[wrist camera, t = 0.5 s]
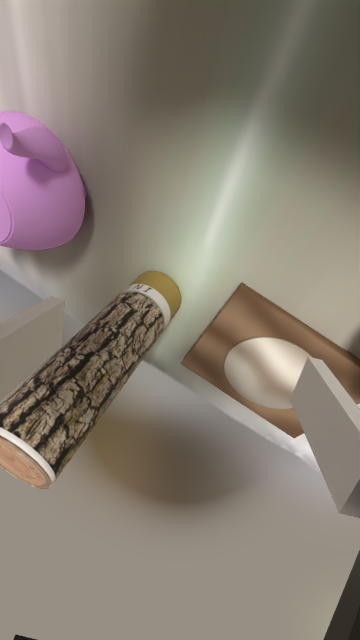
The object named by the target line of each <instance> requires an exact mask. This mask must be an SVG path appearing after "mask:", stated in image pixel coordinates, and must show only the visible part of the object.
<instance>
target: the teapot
mask: <svg viewBox="0 0 360 640" xmlns="http://www.w3.org/2000/svg"><path fill="white" fill-rule="evenodd" d="M86 196H87V189H86V186H85V184H84V183H83V182H82V180H81V177H80V174H79V171H78V169H77V166H76V164H75V163H74V161H73V159H72V157H71V155H70V154H69V152H68V151H67V149H66V148H65V147H64V145H63V144H62V143H61V141H60V140H59V139H58V138H57V137H56V136H55V135H54V134H53V133H52V132H51V131H50V130H49V129H48V128H47V127H46V126H45V125H43V124H42V123H40V122H39V121H38V120H36V119H34V118H32V117H30V116H28V115H26V114H23V113H20V112H15V111H3V112H0V246H5V247H10V248H15V249H21V250H45V249H50V248H54V247H58V246H60V245H63V244H65V243H67V242H68V241H70V240H71V239H72V238H73V237H74V236H75V235H76V234H77V232H78V231H79V229H80V227H81V225H82V222H83V218H84V213H85V198H86Z"/></svg>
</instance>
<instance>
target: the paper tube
mask: <svg viewBox="0 0 360 640" xmlns="http://www.w3.org/2000/svg"><path fill="white" fill-rule="evenodd" d="M180 304H181V294H180V291H179V288H178V286H177V285H176V283H175V282H174V281H173V280H172V279H171V278H170V277H169V276H167V275H165V274H163V273H161V272H156V271H148V272H145V273H143V274H141V275H140V276H139V277H138V278H137V279H136V280H135V281H133V282H132V283H131V284H130V285H129V286H128V287H127V288H126V289H125V290H123V291H122V292H121V293H120V294H119V295H118V296H117V297H116V298H115V299H114V300H113V301H112V302H110V303H109V304H108V305H107V306H106V307H105V308H104V309H103V310H102V311H101V312H100V313H99V314H98V315H96V316H95V317H94V318H93V319H92V320H91V321H90V322H89V323H88V324H87V325H86V326H85V327H84V328H82V329H81V330H80V331H79V332H78V333H77V334H76V335H75V336H74V337H73V338H72V339H71V340H70V341H68V342H67V343H66V344H65V345H64V346H63V347H62V348H61V349H60V350H59V351H58V352H57V353H56V354H55V355H53V356H52V357H51V358H50V359H49V360H48V361H47V362H46V363H45V364H44V365H43V366H42V367H40V368H39V369H38V370H37V371H36V372H35V373H34V374H33V375H32V376H31V377H30V378H29V379H28V380H27V381H25V382H24V383H23V384H22V385H21V386H20V387H19V388H18V389H17V390H16V391H15V392H14V393H12V394H11V395H10V396H9V397H8V398H7V399H6V400H5V401H4V402H3V403H2V404H1V405H0V467H2V468H3V469H4V470H6V471H7V472H9V473H10V474H12V475H13V476H15V477H17V478H18V479H20V480H21V481H23V482H25V483H27V484H29V485H32V486H34V487H37V488H40V489H49V488H50V486H51V484H52V483H53V482H55V480H56V479H57V477H58V476H59V475H60V473H61V472H62V471H63V469H64V468H65V466H66V465H67V463H68V462H69V461H70V459H71V458H72V456H73V455H74V454H75V453H76V451H77V450H78V448H79V447H80V446H81V444H82V443H83V441H84V440H85V438H86V437H87V436H88V434H89V433H90V432H91V430H92V429H93V427H94V426H95V425H96V423H97V422H98V420H99V419H100V418H101V416H102V415H103V413H104V412H105V411H106V409H107V408H108V407H109V405H110V404H111V402H112V401H113V399H114V398H115V397H116V395H117V394H118V393H119V391H120V390H121V388H122V387H123V386H124V384H125V383H126V382H127V380H128V379H129V377H130V376H131V375H132V373H133V372H134V370H135V369H136V368H137V366H138V365H139V363H140V362H141V361H142V359H143V358H144V356H145V355H146V354H147V352H148V351H149V350H150V348H151V347H152V345H153V344H154V343H155V341H156V340H157V338H158V337H159V336H160V334H161V333H162V331H163V330H164V329H165V327H166V326H167V324H168V323H169V321H170V320H171V319H172V317H173V316H174V314H175V313H176V312H177V310H178V309H179V307H180Z"/></svg>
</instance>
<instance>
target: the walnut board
mask: <svg viewBox="0 0 360 640" xmlns="http://www.w3.org/2000/svg"><path fill="white" fill-rule="evenodd" d="M308 357H312V358H316V359H320V360H323V362H324V363H325V364H326V366H327V367H328V368H329V369H330V371H331V372H332V373H333V375H334V376H335V377H336V379H337V380H338V381H339V382H340V384H341V385H342V386H343V388H344V389H345V390H346V392H347V393H348V394H349V396H350V397H351V398H352V399H353V401H354V402H355V403H356V405H357V404H359V403H360V360H359V359H358V358H356V357H355V356H353V355H352V354H350V353H349V352H347V351H346V350H344V349H343V348H341V347H340V346H338V345H336V344H335V343H333V342H332V341H330V340H329V339H327V338H326V337H324V336H323V335H321V334H320V333H318V332H317V331H315V330H314V329H312V328H311V327H309V326H307V325H306V324H304V323H303V322H301V321H300V320H298V319H297V318H295V317H294V316H292V315H291V314H289V313H288V312H286V311H285V310H283V309H282V308H280V307H279V306H277V305H275V304H274V303H272V302H271V301H269V300H268V299H266V298H265V297H263V296H262V295H260V294H259V293H257V292H256V291H254V290H253V289H251V288H250V287H248V286H246V285H245V284H243V283H241V284H240V286H239V287H238V288H237V289H236V291H235V292H234V293H233V295H232V296H231V297H230V299H229V300H228V301H227V303H226V304H225V305H224V306H223V308H222V309H221V310H220V312H219V313H218V314H217V316H216V317H215V318H214V320H213V321H212V322H211V323H210V325H209V326H208V327H207V329H206V330H205V331H204V333H203V334H202V335H201V337H200V338H199V339H198V340H197V342H196V343H195V344H194V346H193V347H192V348H191V350H190V351H189V352H188V353H187V355H186V356H185V358H184V359H183V361H182V363H181V364H182V365H184V366H185V367H187V368H188V369H190V370H192V371H193V372H195V373H196V374H198V375H199V376H201V377H202V378H204V379H205V380H207V381H208V382H210V383H211V384H213V385H214V386H216V387H217V388H219V389H220V390H222V391H223V392H225V393H226V394H228V395H229V396H231V397H232V398H234V399H235V400H237V401H238V402H240V403H241V404H243V405H244V406H246V407H247V408H249V409H250V410H252V411H254V412H255V413H257V414H258V415H260V416H261V417H263V418H264V419H266V420H267V421H269V422H270V423H272V424H273V425H275V426H276V427H278V428H279V429H281V430H282V431H284V432H285V433H287V434H288V435H290V436H291V437H293V438H296V437H298V436H299V435H301V434H303V433H304V431H303V428H302V426H301V424H300V421H299V419H298V417H297V415H296V412H295V410H294V408H293V405H292V403H291V401H290V398H291V396H292V394H293V391H294V389H295V386H296V384H297V382H298V379H299V377H300V374H301V372H302V370H303V367H304V365H305V362H306V360H307V358H308Z"/></svg>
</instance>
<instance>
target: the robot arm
mask: <svg viewBox="0 0 360 640" xmlns="http://www.w3.org/2000/svg"><path fill="white" fill-rule="evenodd" d="M64 306H65V300H63V299H59V298H54V297H49V298H48V299H46V300H44V301H42V302H40V303H38V304H37V305H35V306H33V307H31V308H29V309H27V310H26V311H24V312H22V313H20V314H18V315H16V316H14V317H13V318H11V319H9V320H7V321H5V322H3V323H1V324H0V402H1V401H2V400H3V399H4V398H5V397H6V396H7V395H8V394H9V393H11V392H12V391H13V390H14V389H15V388H16V387H17V386H18V385H19V384H20V383H21V382H23V381H24V380H25V379H26V378H27V377H28V376H29V375H30V374H31V373H32V372H33V371H35V370H36V369H37V368H38V367H39V366H40V365H41V364H42V363H43V362H44V361H46V360H47V359H48V358H49V357H50V356H51V355H52V354H53V353H54V352H55V351H56V350H57V349H59V347H61V345H62V332H63V319H64ZM290 401H291V403H292V405H293V408H294V410H295V412H296V415H297V417H298V419H299V421H300V424H301V426H302V428H303V431H304V433H305V435H306V438H307V440H308V442H309V444H310V447H311V449H312V451H313V454H314V456H315V458H316V461H317V463H318V465H319V467H320V470H321V472H322V474H323V477H324V479H325V481H326V484H327V486H328V488H329V490H330V492H331V495H332V497H333V500H334V502H335V504H336V506H337V509H338V511H339V513H341V514H345V515H350V516H354V517H358V518H360V409H359V407H358V406H357V405H356V403H355V402H354V401H353V399H352V398H351V397H350V396H349V394H348V393H347V392H346V390H345V389H344V388H343V386H342V385H341V384H340V382H339V381H338V380H337V379H336V377H335V376H334V375H333V373H332V372H331V371H330V369H329V368H328V367H327V366H326V364H325V363H324V362H323V360H320V359H316V358H312V357H308V358H307V360H306V362H305V365H304V367H303V370H302V372H301V374H300V377H299V379H298V382H297V384H296V386H295V389H294V391H293V394H292V396H291V398H290ZM14 640H36V639H32V638H27V637H24V636H19V635H15V637H14ZM324 640H360V551H359V553H358V555H357V558H356V561H355V563H354V566H353V568H352V570H351V573H350V575H349V578H348V580H347V583H346V585H345V588H344V590H343V593H342V595H341V598H340V600H339V603H338V605H337V608H336V610H335V612H334V615H333V617H332V620H331V622H330V625H329V627H328V630H327V632H326V635H325V638H324Z"/></svg>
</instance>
